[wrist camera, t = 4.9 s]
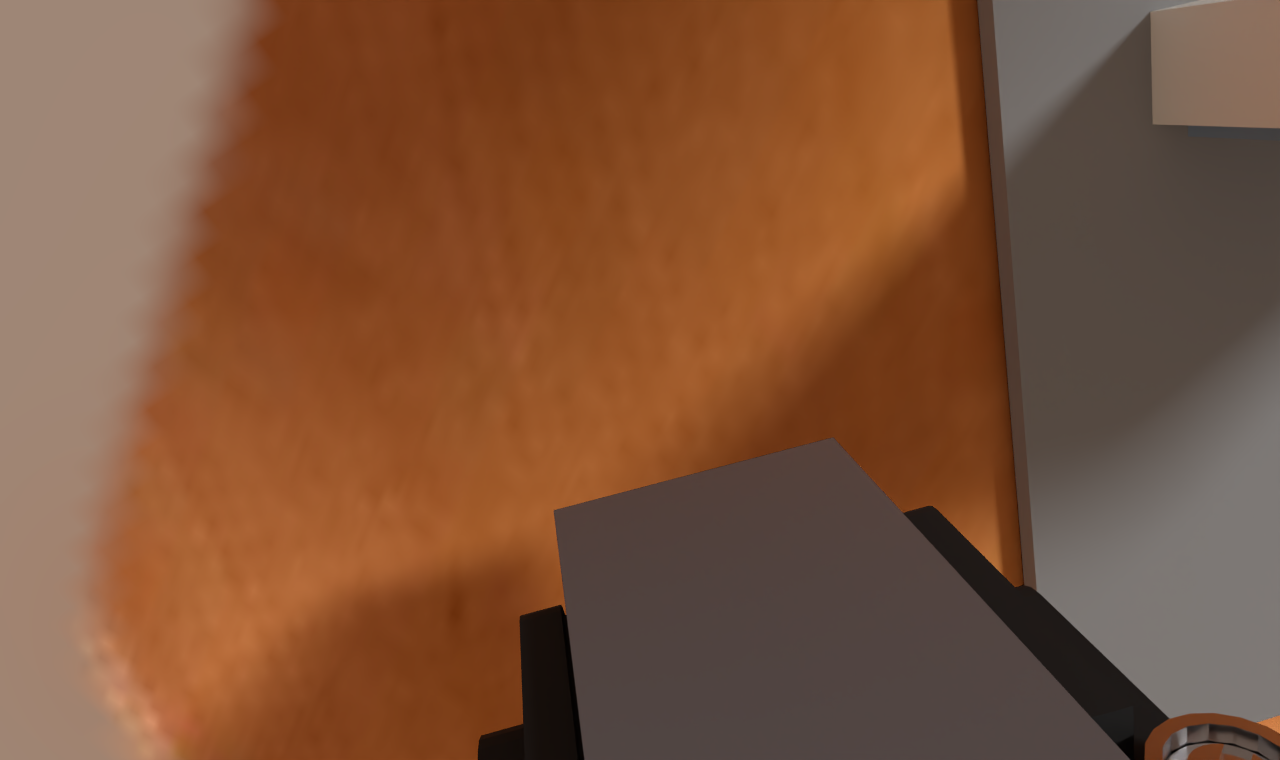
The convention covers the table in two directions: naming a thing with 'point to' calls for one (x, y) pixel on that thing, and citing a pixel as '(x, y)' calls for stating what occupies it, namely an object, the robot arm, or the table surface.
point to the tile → (1218, 68)
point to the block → (793, 628)
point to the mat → (1138, 355)
